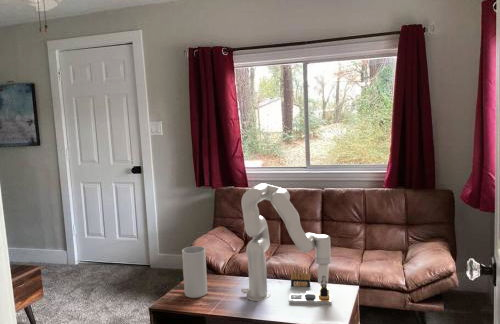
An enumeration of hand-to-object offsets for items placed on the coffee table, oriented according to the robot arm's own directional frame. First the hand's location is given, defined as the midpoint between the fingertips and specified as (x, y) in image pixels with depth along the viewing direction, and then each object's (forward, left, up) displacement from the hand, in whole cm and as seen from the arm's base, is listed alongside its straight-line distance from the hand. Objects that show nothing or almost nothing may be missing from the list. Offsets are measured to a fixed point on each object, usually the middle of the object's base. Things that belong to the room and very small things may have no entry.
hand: (323, 292), depth 217 cm
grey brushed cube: (-7, 0, -5) cm, 9 cm away
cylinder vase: (-70, +8, -6) cm, 70 cm away
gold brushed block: (0, 0, -5) cm, 5 cm away
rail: (-7, 0, -6) cm, 9 cm away
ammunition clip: (-13, +19, -6) cm, 24 cm away
